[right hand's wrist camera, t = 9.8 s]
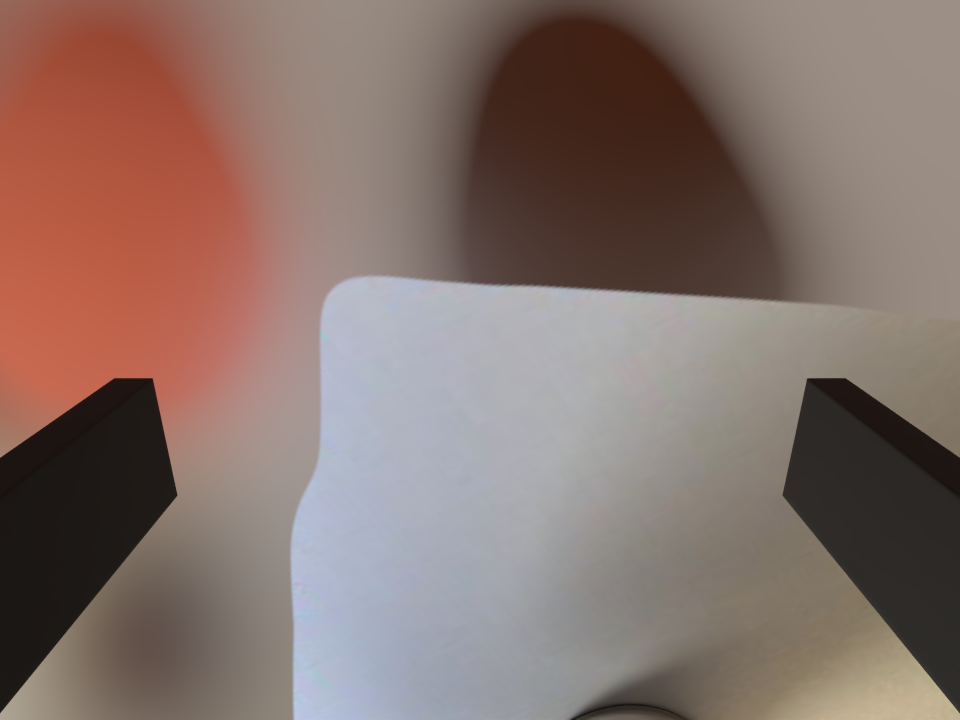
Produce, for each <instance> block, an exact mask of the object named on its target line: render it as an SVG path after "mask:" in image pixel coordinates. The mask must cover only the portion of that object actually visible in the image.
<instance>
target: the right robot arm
mask: <svg viewBox="0 0 960 720" xmlns="http://www.w3.org/2000/svg"><path fill="white" fill-rule="evenodd" d="M176 496H177V491H176V487H175V482H174V477H173V472H172V468H171V463H170V458H169V454H168V449H167V444H166V439H165V435H164V430H163V425H162V420H161V416H160V411H159V406H158V401H157V397H156V392H155V387H154V383H153V379H152V378H114V379H113V380H111V381H110V382H109V383H107V384H106V385H104V386H103V387H101V388H100V389H98V390H97V391H96V392H94V393H93V394H91V395H90V396H88V397H87V398H86V399H84V400H83V401H81V402H80V403H78V404H77V405H75V406H74V407H73V408H71V409H70V410H68V411H67V412H65V413H64V414H63V415H61V416H60V417H58V418H57V419H55V420H54V421H53V422H51V423H50V424H48V425H47V426H45V427H44V428H42V429H41V430H40V431H38V432H37V433H35V434H34V435H32V436H31V437H30V438H28V439H27V440H25V441H24V442H22V443H21V444H19V445H18V446H17V447H15V448H14V449H12V450H11V451H9V452H8V453H7V454H5V455H4V456H2V457H1V458H0V713H1V712H2V710H3V709H4V708H5V707H6V705H7V704H8V703H9V702H10V701H11V699H12V698H13V697H14V696H15V694H16V693H17V692H18V691H19V689H20V688H21V687H22V686H23V685H24V683H25V682H26V681H27V680H28V678H29V677H30V676H31V675H32V673H33V672H34V671H35V670H36V669H37V667H38V666H39V665H40V664H41V662H42V661H43V660H44V659H45V657H46V656H47V655H48V654H49V653H50V651H51V650H52V649H53V648H54V646H55V645H56V644H57V643H58V641H59V640H60V639H61V638H62V637H63V635H64V634H65V633H66V632H67V630H68V629H69V628H70V627H71V626H72V624H73V623H74V622H75V621H76V619H77V618H78V617H79V616H80V615H81V613H82V612H83V611H84V610H85V608H86V607H87V606H88V605H89V603H90V602H91V601H92V600H93V599H94V597H95V596H96V595H97V593H98V592H99V591H100V590H101V589H102V587H103V586H104V585H105V584H106V583H107V581H108V580H109V579H110V578H111V576H112V575H113V574H114V573H115V572H116V570H117V569H118V568H119V567H120V565H121V564H122V563H123V562H124V560H125V559H126V558H127V557H128V556H129V554H130V553H131V552H132V551H133V549H134V548H135V547H136V546H137V544H138V543H139V542H140V541H141V540H142V538H143V537H144V536H145V535H146V533H147V532H148V531H149V530H150V528H151V527H152V526H153V525H154V524H155V522H156V521H157V520H158V519H159V517H160V516H161V515H162V514H163V512H164V511H165V510H166V509H167V508H168V506H169V505H170V504H171V503H172V501H173V500H174V499H175V498H176ZM783 497H784V498H785V499H786V500H787V502H788V503H789V504H790V505H791V506H792V508H793V509H794V510H795V511H796V513H797V514H798V515H799V516H800V517H801V519H802V520H803V521H804V522H805V524H806V525H807V526H808V527H809V529H810V530H811V531H812V532H813V533H814V535H815V536H816V537H817V538H818V540H819V541H820V542H821V543H822V544H823V546H824V547H825V548H826V549H827V551H828V552H829V553H830V554H831V556H832V557H833V558H834V559H835V560H836V562H837V563H838V564H839V565H840V567H841V568H842V569H843V570H844V572H845V573H846V574H847V575H848V576H849V578H850V579H851V580H852V581H853V583H854V584H855V585H856V586H857V587H858V589H859V590H860V591H861V592H862V594H863V595H864V596H865V597H866V599H867V600H868V601H869V602H870V603H871V605H872V606H873V607H874V608H875V610H876V611H877V612H878V613H879V615H880V616H881V617H882V618H883V619H884V621H885V622H886V623H887V624H888V626H889V627H890V628H891V629H892V630H893V632H894V633H895V634H896V635H897V637H898V638H899V639H900V640H901V642H902V643H903V644H904V645H905V646H906V648H907V649H908V650H909V651H910V653H911V654H912V655H913V656H914V658H915V659H916V660H917V661H918V662H919V664H920V665H921V666H922V667H923V669H924V670H925V671H926V672H927V673H928V675H929V676H930V677H931V678H932V680H933V681H934V682H935V683H936V685H937V686H938V687H939V688H940V689H941V691H942V692H943V693H944V694H945V696H946V697H947V698H948V699H949V701H950V702H951V703H952V704H953V705H954V707H955V708H956V709H957V710H958V712H959V713H960V458H959V457H958V456H956V455H955V454H953V453H952V452H951V451H949V450H948V449H946V448H945V447H943V446H942V445H941V444H939V443H938V442H936V441H935V440H933V439H932V438H930V437H929V436H928V435H926V434H925V433H923V432H922V431H920V430H919V429H918V428H916V427H915V426H913V425H912V424H910V423H909V422H907V421H906V420H905V419H903V418H902V417H900V416H899V415H897V414H896V413H895V412H893V411H892V410H890V409H889V408H887V407H886V406H885V405H883V404H882V403H880V402H879V401H877V400H876V399H874V398H873V397H872V396H870V395H869V394H867V393H866V392H864V391H863V390H862V389H860V388H859V387H857V386H856V385H854V384H853V383H851V382H850V381H849V380H847V379H846V378H807V382H806V387H805V392H804V397H803V401H802V406H801V411H800V416H799V420H798V425H797V430H796V435H795V439H794V444H793V449H792V453H791V458H790V463H789V468H788V472H787V477H786V482H785V487H784V491H783ZM575 720H684V719H682V718H681V717H679V716H677V715H675V714H673V713H670V712H668V711H665V710H661V709H658V708H653V707H647V706H633V705H630V706H616V707H610V708H605V709H601V710H597V711H594V712H591V713H588V714H586V715H584V716H581V717H579V718H577V719H575Z"/></svg>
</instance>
